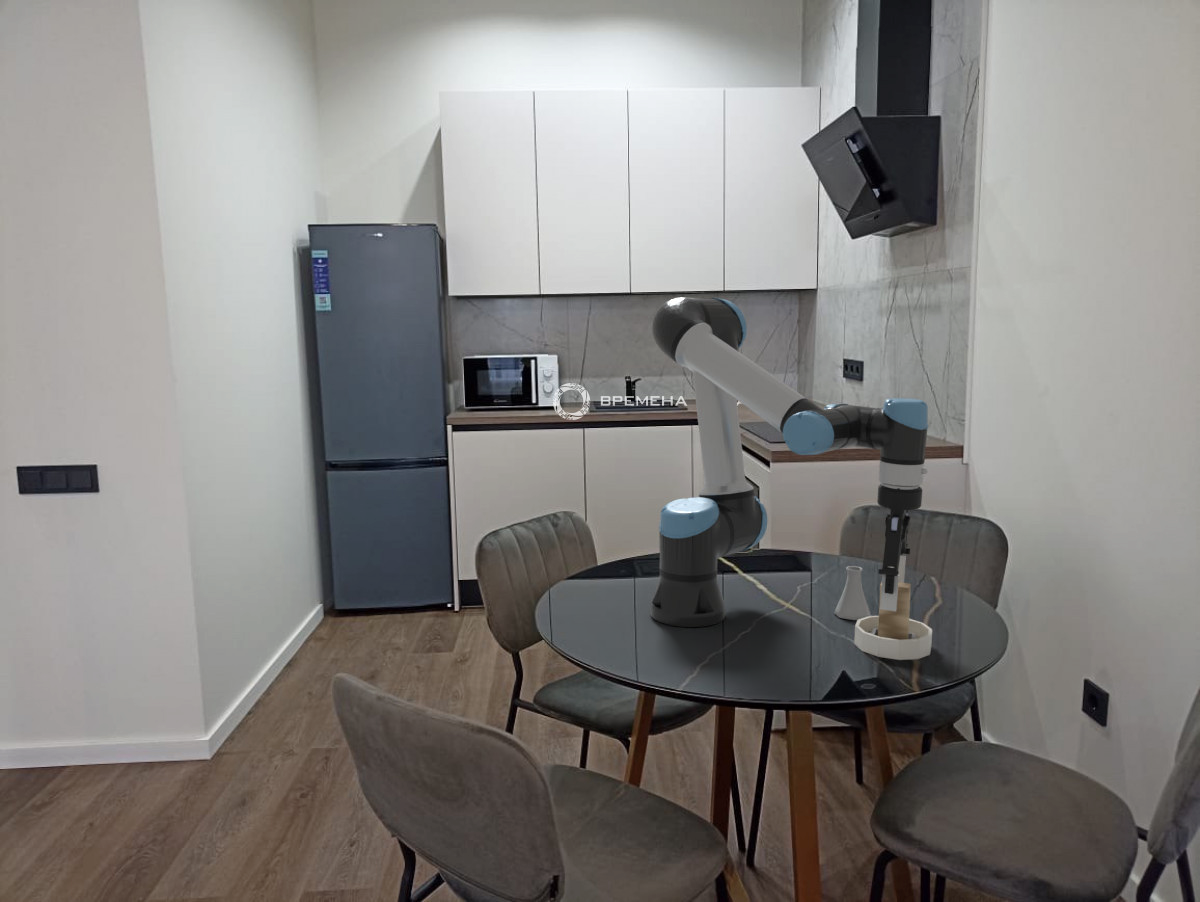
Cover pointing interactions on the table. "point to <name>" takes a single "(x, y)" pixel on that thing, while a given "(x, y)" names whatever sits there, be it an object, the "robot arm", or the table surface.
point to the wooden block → (896, 615)
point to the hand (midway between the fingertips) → (892, 598)
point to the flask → (853, 597)
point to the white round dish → (893, 640)
